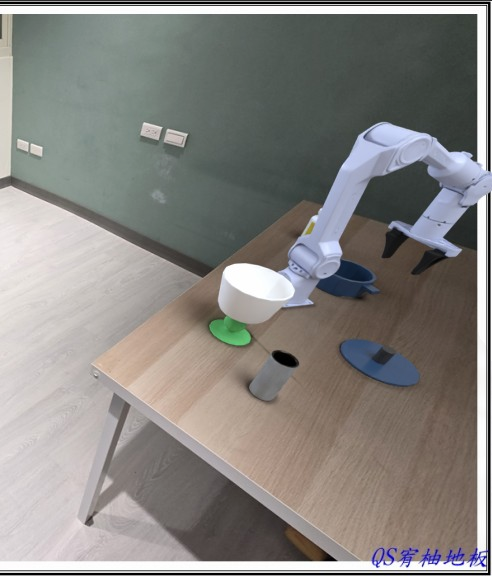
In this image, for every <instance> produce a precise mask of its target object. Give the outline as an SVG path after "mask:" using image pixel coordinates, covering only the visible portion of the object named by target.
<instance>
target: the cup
mask: <svg viewBox="0 0 492 576" xmlns="http://www.w3.org/2000/svg"><path fill="white" fill-rule="evenodd" d="M277 272H278V271H275V270H273V269H271V268H267V267H265V266H262V265H258V264H252V263H244V262H243V263H233V264H231V265H227V266H226V267H225V268H224V270H223V271H222V276H221V281H220V286H219V287H220V288H219V292H218V297H217V302H218V306H219V309H220V310H221V311H222V313H223V314H224V315H226V316H225V317H224V319H223V318H222V319H221V318H220V319H215V320H213V321H211V322H210V324H209V326H208V327H209V331H210V333H212V335H213V336H214V337H215V338H217V339H218V340H219V341H221V342H223V343H225V344H227V345H232V346H236V347H239V346H246V345H248V344H249V343H250V342H251V339H252V337H251V334H250V332H249V331H248V330H247V329H246V327H247V325H259V324H262V323H264V322H266V321H268V320H270V319H271V318H272V317H273V316H274V315H275V314H276V313H277V312H278V311H279V310H281V308H283V307H282V306H283V305H284V304H286V303H287V302H288V301H289V300H290V299H291V298H292V297H293V295H294V292H295V289H294V287H293V286H292V284H291V282H290V281H288V280H287V279H286V278H285V277H284V276H282V275H280V274H278V273H277Z"/></svg>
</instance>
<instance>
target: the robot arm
mask: <svg viewBox="0 0 492 576" xmlns="http://www.w3.org/2000/svg"><path fill="white" fill-rule="evenodd" d="M473 156H474V155H473V154H472V153H470V152H466V151H461V152H460V151H448V150H447V148H445V147H444V146H443V145H442V144H441V143H440V142H439V141H438V138H436V137H433V136H431V135H430V134H428V133H425V132H418V131H415V130H412V129H408V128H405V127H402V126H398V125H394V124H392V123H390V122H387V121H382V122H378V123H375V124H373V125H372V126H371V127H369V128H367V129H366V130H365V131H363V132H361V133H360V134H358V136H357V139H356V140H355V143H354V144H353V146H352V148H351V151H350V152H349V155H348V157H347V158H346V160H345V161H344V162H343V164H342V165H341V166H340V168H339V171H338V173H337V175H336V177H335V180H334V181H333V184H332V186H331V188H330V190H329V193H328V195H327V197H326V199H325V201H324V204H323V206H322V207H321V208H322V210H321V212H320V215H319V217H318V219H317V221H316V223H315V226H314V228H313V230H312V232H311V234H307V235H303V236H301V235H300V236H298V237H297V239H296V241H295V243H294V244H293V245H292V246H291V247H290V248H289V250H288V252H287V257H288V259H289V261H287V264H288V266H287V267H285V268H284V269H282V270H278V271H276V272H277V273H278V274H280V275H282V276H284V277H285V278H286V279H287V280H288V281H290V282H291V284H292V286H293V287H294V289H295V292H294V295H293V297H292V298H291V299H290V300H289V301H288V302H287V303H286V304H284V305H283V306H282V307H281V308H289V307H299V306H307V305H308V306H309V305H314V302H313V301H312V300H310V299H309V298H310V295H311V294H312V293H313V291H314V290H315V288H316V287H317V286H316V285H317V284H318V282H319V281H320V279H324V278H327V277H329V276H331V275H333V274H334V273H335V272H336V271H337V270H338V268H339V266H340V258H341V259H342V256H343V251H342V248H341V245H340V242H339V241H340V239H341V236H342V235H343V233H344V231H345V230H346V227H347V225H348V223H349V221H350V219H351V217H352V215H353V214H354V212H355V210H356V207H358V204H359V202H360V200H361V198H362V196H363V194H364V192H365V190H366V188H367V187H368V184H369V183H370V180H372V179H373V178H375V177H383V176H386V175H387V174H390V173H393V172H395V171H398V170H400V169H403V168H405V167H407V166H409V165H412V164H414V163H416V162H423V163H424V164H426V165H428V166H427V173H428V175H429V176H430V177H432V178H433V179H434V180H436V181H438V182H439V188H441V190H440V192H439V193H438V194H437V195H436V196H435V198H434V199H433V200H432V201H431V203H430V204H429V205H428V207H427V208H425V210H424V211H423V213H422V214H421V215H420V217H419V218H418V219H417V221H416V222H415V223H414V225H411V224H408V223H406V222H403V221H400V220H392V221H391V222H390V223H389V225H388V227H387V228H388V229H390V230H387V231H386V233H385V234H384V236H385V242H384V243H385V244H384V249H383V251H382V254H381V258H382V259H384V260H385V259H390V258H391V257H393V256H394V255H395V253H396V252H397V251H398V249H399V248H400V247H401V246H402V245H403V244H404V243H406V241H407V240H409V238H411V239H413V240H415V241H417V242H420V243H421V244H423V245H425V246H428V247H429V248H432V249H428V250H425V251H424V253H423V256H422V257H421V259H420V260H419V262H418V264H416V266H414V268H413V269H412V270H411V272H410V274H411V275H412V276H418V275H421V274H422V273H423V272H425V271H427V270H428V269H429V268H431V267H433V266H435V265H437V264H438V263H441V262H443V261H445V260H447V259H450V258H454V257H455V258H456V257H457V256H458V255H459V254H460V253H461V252H462V251H463V249H462V248H460V247H458V246H456V245H455V244H453V243H451V242H450V241H448V240H447V239H445V238H444V237H445V236H446V235H447V233H448V232H449V231H450V230H451V228H452V227H453V226H454V225H456V223H457V221H458V220H459V219H460V218H461V217H462V216H463V214H465V212H466V211H467V210H468V209H469V208H470V207H471V206H474V205H475V204H477V203H478V202H479V201H480V200H481V199H482V198H483V197H485V196H487V195H488V194H490V193H491V192H492V171H489V170H486V169H483V166H484V165H483V164H482V163H481V162H478V161H474V160H472V159H471V158H472V157H473Z"/></svg>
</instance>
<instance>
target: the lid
mask: <svg viewBox="0 0 492 576" xmlns="http://www.w3.org/2000/svg"><path fill="white" fill-rule="evenodd" d="M339 350H340V353H341V355H342V357H343V359H344V360H345V361H346V362H347V363H348V364H349V365H350V366H351V367H353V368H354V369H356V370H357V371H358V372H360V373H361V374H363V375H365V376H367V377H369V378H371V379H373V380H375V381H378V382H380V383H383V384H386V385H389V386H394V387H402V388H403V387H412V386H414V385H416V384H417V383H418V382H419V380H420V372H419V371H418V369H417V367H416V366H415V364H414V363H412V362H411V361H410V360H409V359H407V358H406V357H405V356H404V355H402V354H400V353H399V352H397V350H396V349H394V347H391V346H388V345H383V344H381V343H378V342H374V341H372V340H368V339H363V338H362V339H361V338H351V339H347V340H345V341H343V342H342V343H341V345H340V349H339Z"/></svg>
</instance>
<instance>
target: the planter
mask: <svg viewBox="0 0 492 576" xmlns="http://www.w3.org/2000/svg"><path fill="white" fill-rule="evenodd" d="M299 366H300V361H299V359H298V358H297V357H296V356H295V355H294V354H292V353H290V352H288V351H285V350H281V349H276V350H273V351H271V353H270V354H269V356H268V357H267V359H266V361H265V362H263V364H262V366H261V368H260V369H259V371H258V372H257V374H256V375H255V377H254V378H253V380H251V382H250V384H249V386H248V387H249V388H248V389H249V392H250V393H251V394H252V395H253V396H255V397H256V398H257V399H259V400H261V401H264V402H265V401H266V402H271V401H273V400H274V399H275V398H276V396H277V395H278V394H279V392H280V391H281V390H282V388H283V387H284V386H285V385H286V384H287V382H288V381H289V379H290V378H291V377H292V376H293V374H294V373H295V372H296V370H298V368H299Z"/></svg>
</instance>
